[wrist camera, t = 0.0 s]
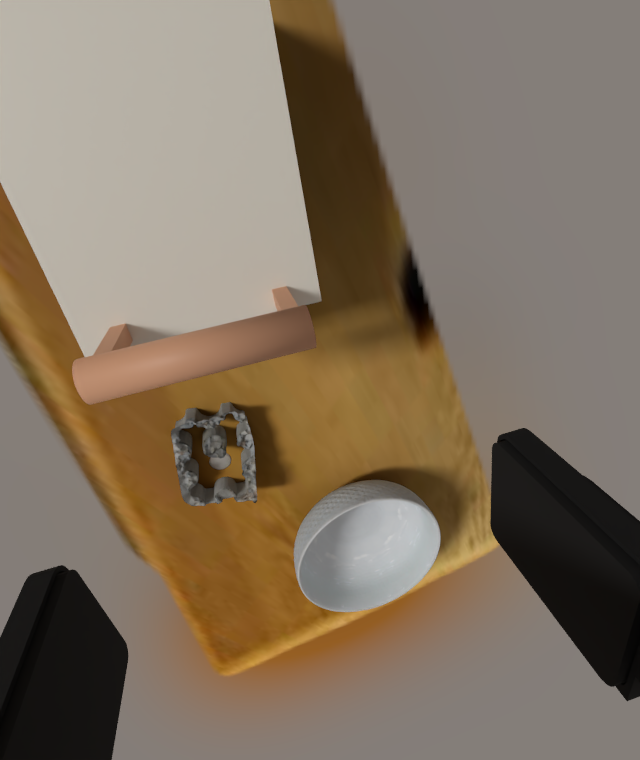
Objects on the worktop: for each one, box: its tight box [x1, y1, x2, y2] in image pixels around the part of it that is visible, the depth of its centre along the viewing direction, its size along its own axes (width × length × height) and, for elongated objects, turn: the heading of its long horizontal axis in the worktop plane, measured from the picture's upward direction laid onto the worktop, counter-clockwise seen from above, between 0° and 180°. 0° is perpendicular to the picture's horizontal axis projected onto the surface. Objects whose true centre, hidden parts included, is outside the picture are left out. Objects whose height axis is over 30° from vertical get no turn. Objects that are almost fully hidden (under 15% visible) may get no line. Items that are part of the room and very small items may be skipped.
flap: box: [0, 0, 322, 404], centre depth 22 cm, size 18×16×8 cm
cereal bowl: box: [294, 480, 441, 612], centre depth 50 cm, size 17×17×7 cm
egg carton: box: [171, 402, 257, 506], centre depth 43 cm, size 11×8×4 cm
